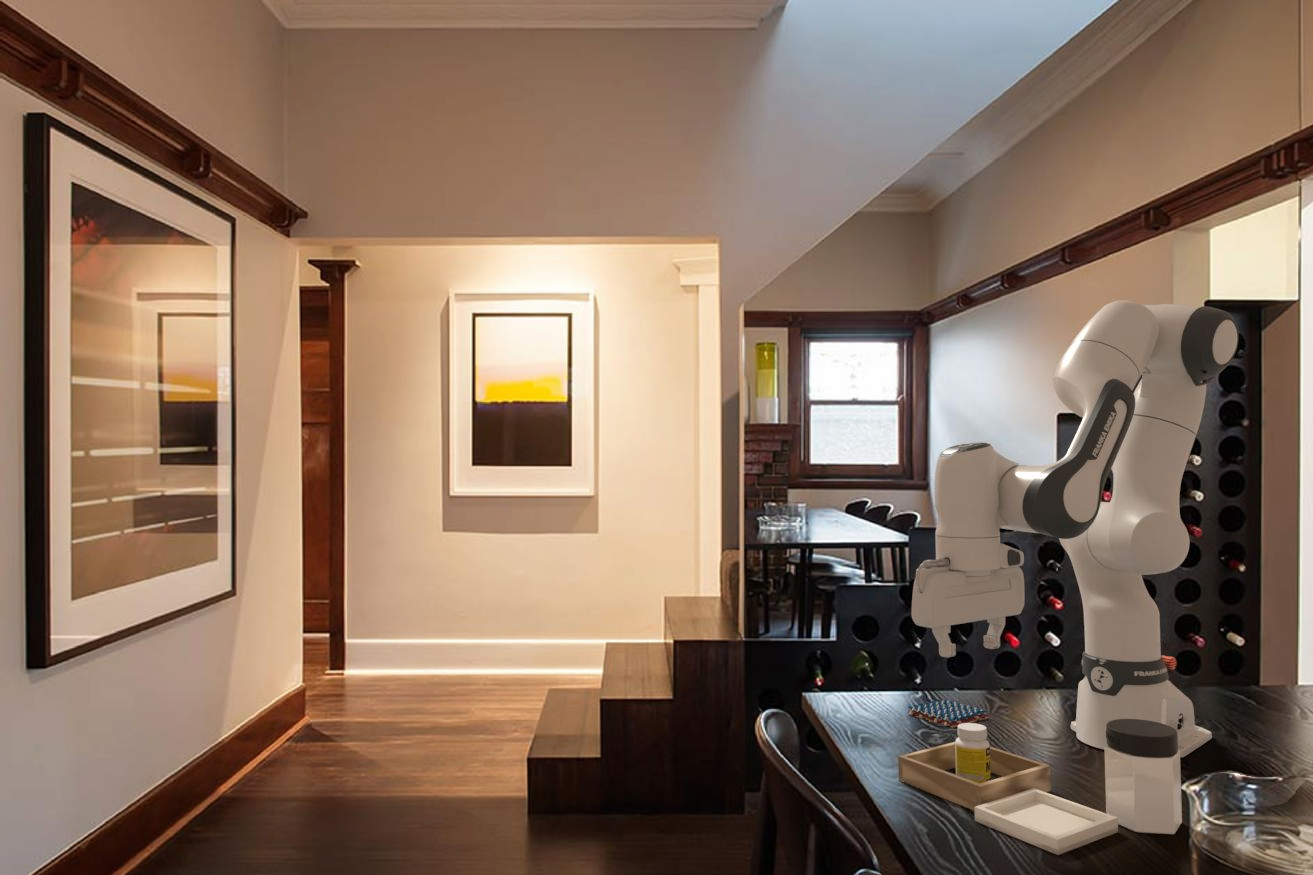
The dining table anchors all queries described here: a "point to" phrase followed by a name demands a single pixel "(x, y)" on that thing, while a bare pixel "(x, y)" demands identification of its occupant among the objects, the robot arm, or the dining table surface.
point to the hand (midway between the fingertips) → (970, 652)
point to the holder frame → (932, 777)
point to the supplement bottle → (972, 753)
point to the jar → (1143, 775)
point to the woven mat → (948, 713)
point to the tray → (1046, 820)
